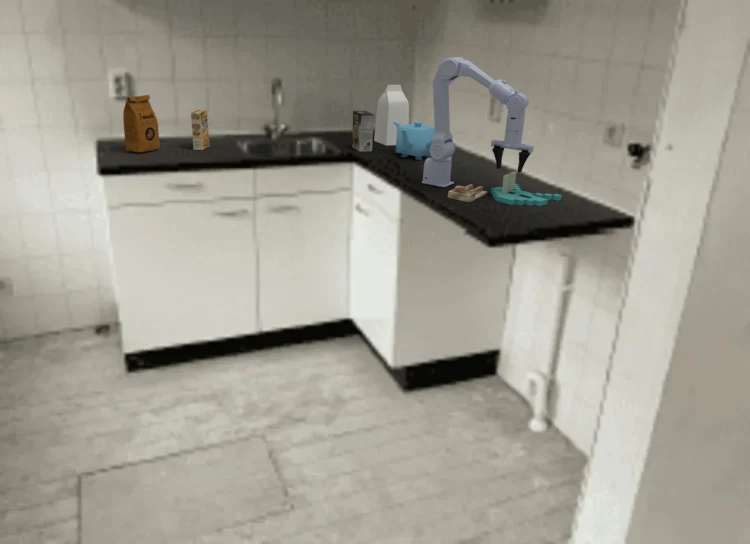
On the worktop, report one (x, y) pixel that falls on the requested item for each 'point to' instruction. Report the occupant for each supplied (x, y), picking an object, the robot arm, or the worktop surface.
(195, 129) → the candy box
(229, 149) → the worktop surface
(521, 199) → the alien figure
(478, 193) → the rack
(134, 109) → the coffee package
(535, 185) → the worktop surface
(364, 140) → the coffee box
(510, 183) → the panel
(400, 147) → the teakettle
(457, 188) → the offcut
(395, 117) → the milk
